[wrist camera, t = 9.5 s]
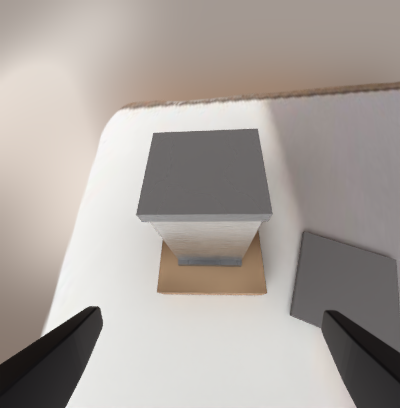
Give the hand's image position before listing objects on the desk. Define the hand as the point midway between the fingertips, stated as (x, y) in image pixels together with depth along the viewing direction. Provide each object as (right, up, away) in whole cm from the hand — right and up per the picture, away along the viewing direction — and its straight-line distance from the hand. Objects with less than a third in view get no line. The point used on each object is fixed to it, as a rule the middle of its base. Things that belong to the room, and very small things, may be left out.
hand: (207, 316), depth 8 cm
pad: (+13, -3, +10) cm, 16 cm away
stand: (+1, 0, +12) cm, 12 cm away
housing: (+1, +1, +10) cm, 10 cm away
